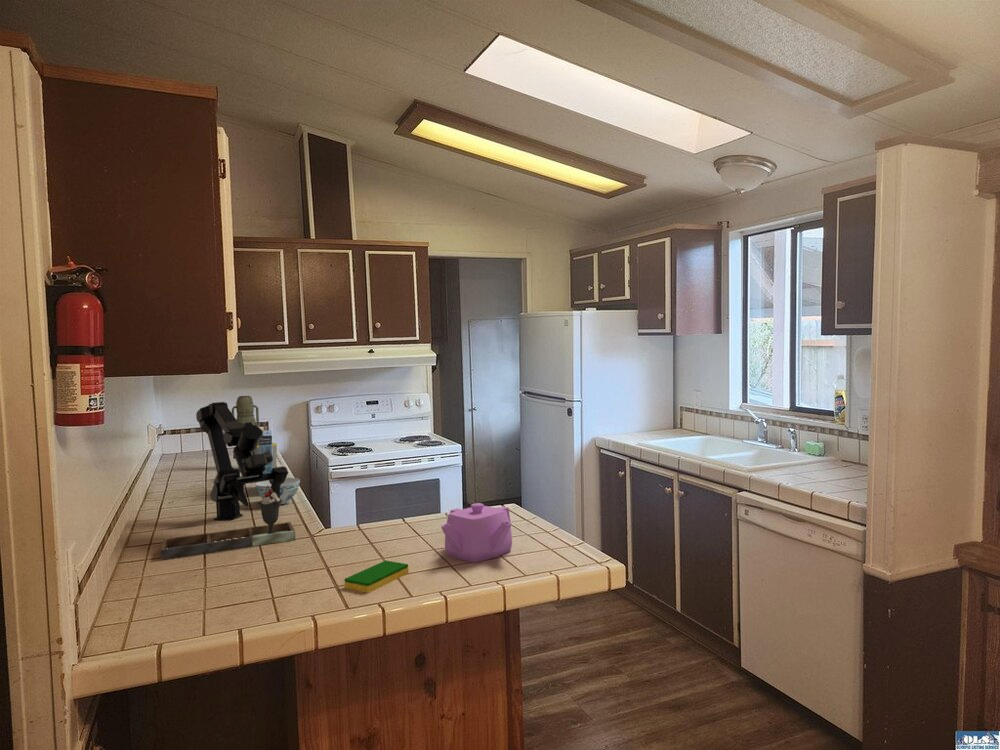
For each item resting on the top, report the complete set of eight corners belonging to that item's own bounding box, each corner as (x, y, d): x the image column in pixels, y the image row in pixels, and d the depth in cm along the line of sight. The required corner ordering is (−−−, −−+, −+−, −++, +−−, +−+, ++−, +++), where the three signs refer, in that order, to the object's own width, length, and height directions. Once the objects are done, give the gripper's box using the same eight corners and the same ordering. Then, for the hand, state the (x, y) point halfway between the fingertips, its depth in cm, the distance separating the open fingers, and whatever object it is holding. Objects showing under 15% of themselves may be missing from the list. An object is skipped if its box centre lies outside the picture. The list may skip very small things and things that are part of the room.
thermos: (263, 468, 304) (259, 395, 303) (236, 471, 298) (233, 397, 297) (259, 466, 312) (255, 395, 311) (233, 469, 305) (229, 396, 304)
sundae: (265, 541, 175) (262, 487, 175) (255, 537, 180) (252, 484, 180) (288, 536, 180) (285, 483, 180) (277, 532, 185) (274, 481, 184)
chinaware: (284, 497, 236) (283, 476, 236) (309, 501, 227) (308, 479, 227) (247, 505, 224) (246, 483, 224) (273, 510, 215) (272, 487, 215)
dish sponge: (409, 574, 147) (409, 563, 146) (368, 594, 135) (367, 583, 135) (386, 570, 150) (385, 559, 150) (343, 589, 138) (343, 578, 138)
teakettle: (511, 541, 168) (509, 495, 168) (513, 562, 151) (511, 510, 151) (447, 544, 168) (445, 498, 168) (442, 565, 151) (440, 513, 151)
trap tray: (161, 559, 164) (160, 550, 164) (164, 548, 174) (164, 539, 174) (295, 540, 177) (295, 531, 177) (290, 530, 188) (290, 522, 188)
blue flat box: (261, 487, 257) (258, 431, 256) (274, 485, 259) (271, 430, 258) (260, 496, 239) (257, 436, 238) (274, 495, 240) (271, 434, 240)
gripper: (220, 447, 181) (236, 491, 173) (284, 439, 193) (301, 480, 185) (212, 471, 187) (228, 515, 179) (274, 462, 199) (291, 503, 191)
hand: (263, 502), depth 183 cm, fingers open, 9 cm apart
